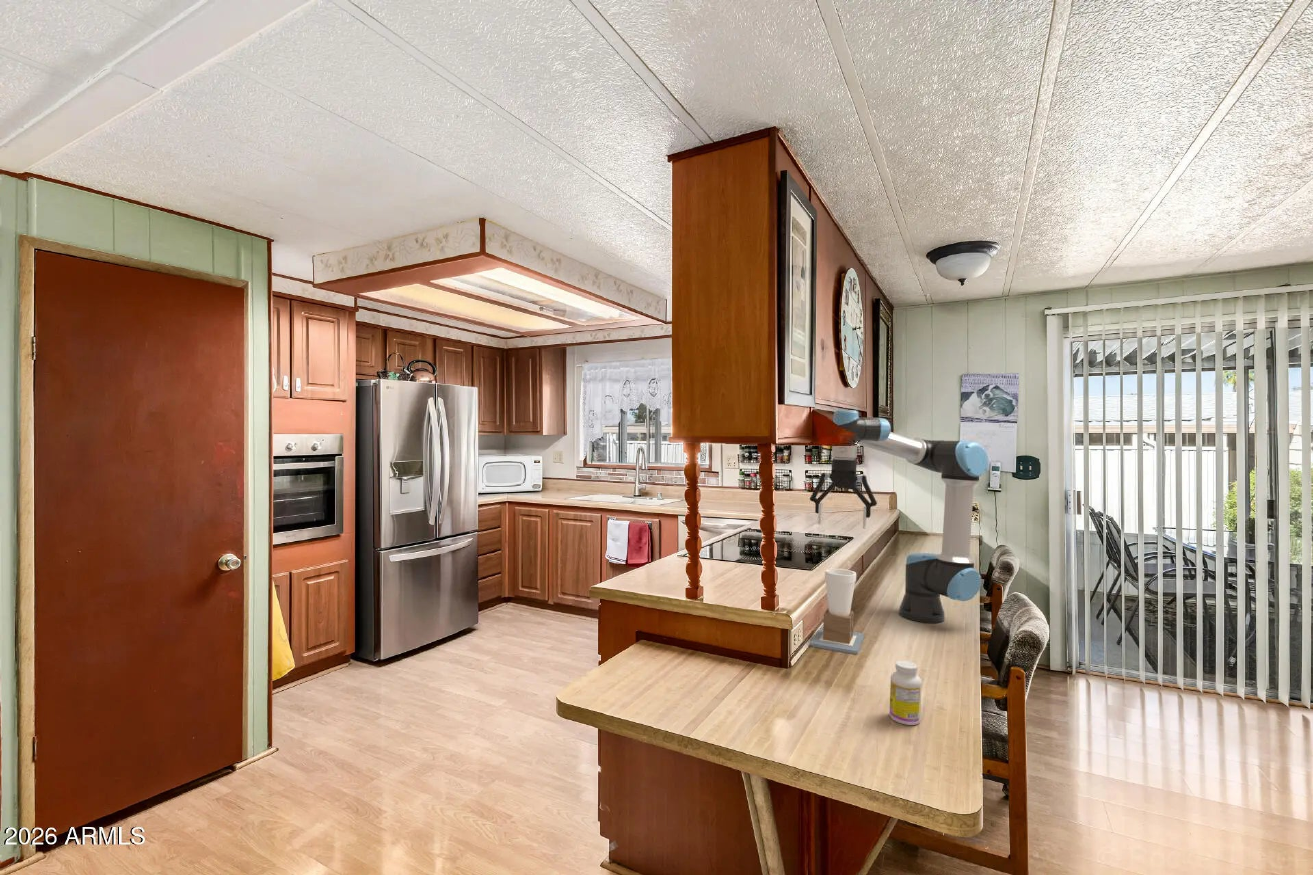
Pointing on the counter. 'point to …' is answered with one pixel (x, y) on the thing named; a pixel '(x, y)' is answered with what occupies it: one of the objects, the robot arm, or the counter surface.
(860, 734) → the counter surface
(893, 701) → the supplement bottle
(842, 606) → the foam cup
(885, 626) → the counter surface
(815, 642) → the blue flat board
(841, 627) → the walnut cube
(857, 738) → the counter surface
